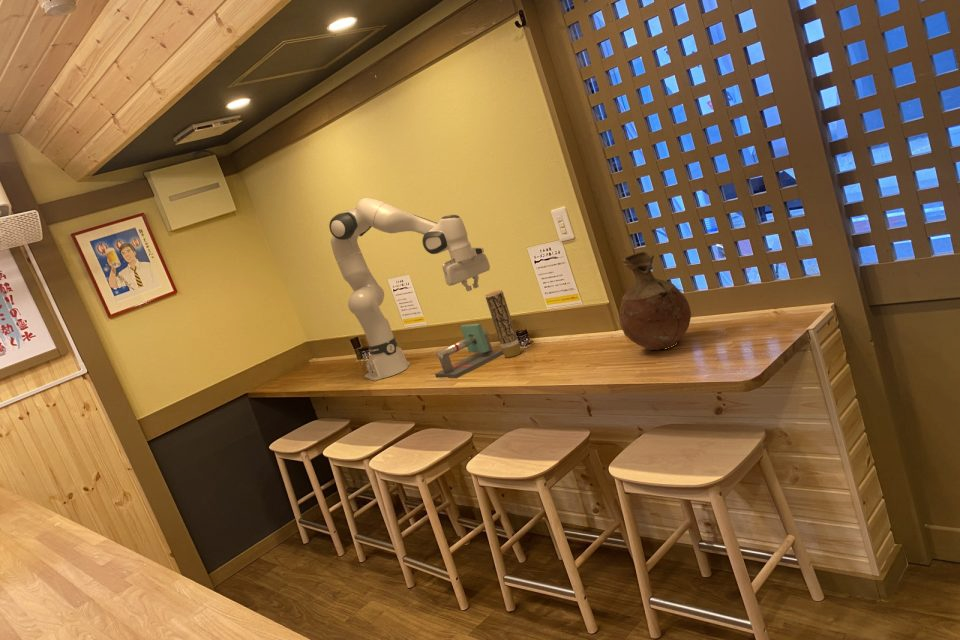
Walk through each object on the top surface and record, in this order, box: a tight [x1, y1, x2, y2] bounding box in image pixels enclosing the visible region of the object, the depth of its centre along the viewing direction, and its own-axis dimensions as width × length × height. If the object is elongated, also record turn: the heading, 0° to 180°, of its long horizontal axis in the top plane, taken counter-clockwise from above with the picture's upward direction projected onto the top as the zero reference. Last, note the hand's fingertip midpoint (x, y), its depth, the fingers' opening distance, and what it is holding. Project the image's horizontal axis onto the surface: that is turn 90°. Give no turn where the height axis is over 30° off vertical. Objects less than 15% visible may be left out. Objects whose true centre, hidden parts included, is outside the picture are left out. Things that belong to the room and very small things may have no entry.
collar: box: [460, 323, 489, 354], centre depth 282 cm, size 11×2×11 cm, turn 38°
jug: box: [619, 251, 692, 351], centre depth 224 cm, size 22×22×30 cm
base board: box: [434, 349, 504, 379], centre depth 280 cm, size 14×24×2 cm, turn 128°
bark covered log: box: [484, 289, 522, 359], centre depth 273 cm, size 7×7×25 cm
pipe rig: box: [436, 328, 494, 373], centre depth 280 cm, size 4×24×9 cm, turn 128°
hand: (473, 289), depth 283 cm, fingers open, 2 cm apart
